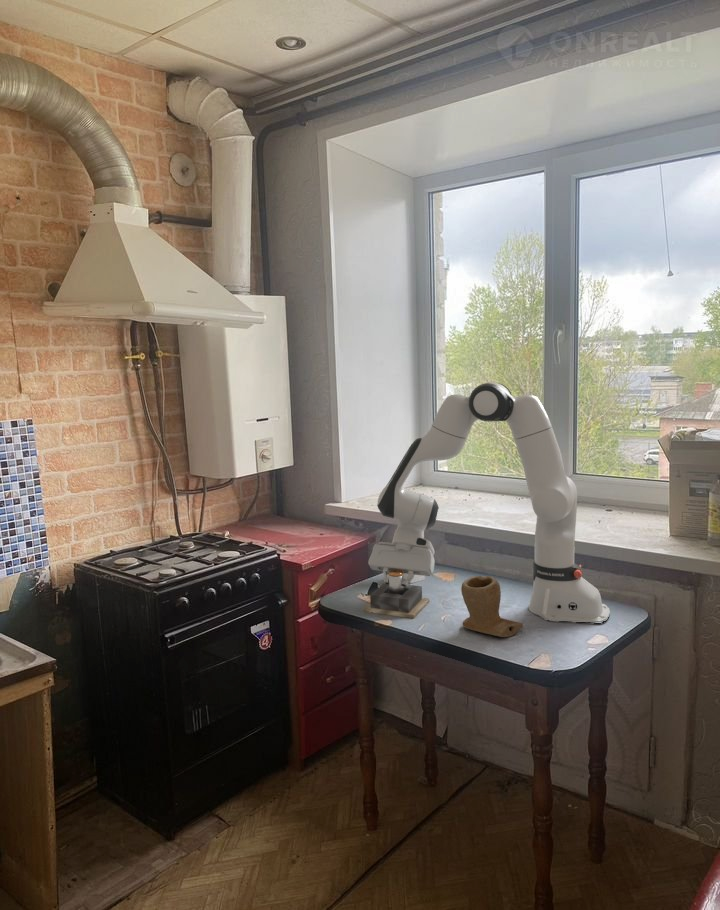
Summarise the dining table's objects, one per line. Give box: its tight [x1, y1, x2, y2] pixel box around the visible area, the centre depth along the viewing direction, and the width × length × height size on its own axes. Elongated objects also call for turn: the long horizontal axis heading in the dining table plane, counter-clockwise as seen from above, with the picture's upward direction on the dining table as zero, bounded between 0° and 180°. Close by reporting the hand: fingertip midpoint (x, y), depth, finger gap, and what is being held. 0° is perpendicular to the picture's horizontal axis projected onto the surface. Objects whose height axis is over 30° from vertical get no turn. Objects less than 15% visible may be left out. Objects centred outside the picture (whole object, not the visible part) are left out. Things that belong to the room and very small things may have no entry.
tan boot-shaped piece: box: [460, 575, 524, 638], centre depth 183 cm, size 15×12×15 cm
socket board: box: [362, 583, 430, 619], centre depth 204 cm, size 16×14×5 cm
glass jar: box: [388, 570, 404, 595], centre depth 204 cm, size 4×4×8 cm
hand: (395, 584), depth 203 cm, fingers closed on glass jar, 4 cm apart
